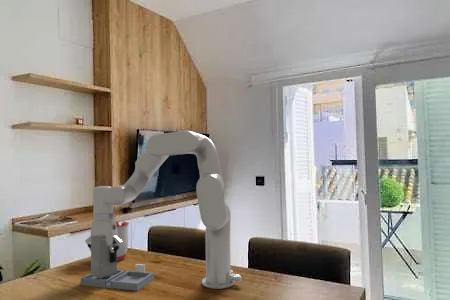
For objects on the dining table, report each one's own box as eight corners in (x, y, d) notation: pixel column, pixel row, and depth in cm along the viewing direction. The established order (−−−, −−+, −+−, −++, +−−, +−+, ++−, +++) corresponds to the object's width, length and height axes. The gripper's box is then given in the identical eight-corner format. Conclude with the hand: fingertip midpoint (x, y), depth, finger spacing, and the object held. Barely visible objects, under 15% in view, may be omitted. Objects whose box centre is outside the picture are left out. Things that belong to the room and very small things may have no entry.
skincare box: (100, 279, 135) (100, 237, 135) (89, 275, 139) (89, 235, 139) (118, 273, 142) (118, 233, 142) (107, 269, 146) (107, 231, 146)
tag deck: (154, 278, 141) (154, 265, 141) (137, 290, 129) (137, 275, 129) (100, 274, 148) (100, 260, 148) (79, 284, 136) (79, 270, 136)
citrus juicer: (135, 254, 179) (134, 214, 180) (121, 264, 162) (121, 220, 162) (105, 253, 181) (105, 214, 181) (89, 263, 163) (89, 220, 164)
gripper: (127, 216, 142) (128, 260, 142) (91, 215, 147) (91, 257, 146) (117, 219, 135) (117, 265, 134) (78, 218, 140) (79, 262, 139)
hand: (104, 261), depth 140 cm, fingers closed on skincare box, 7 cm apart
